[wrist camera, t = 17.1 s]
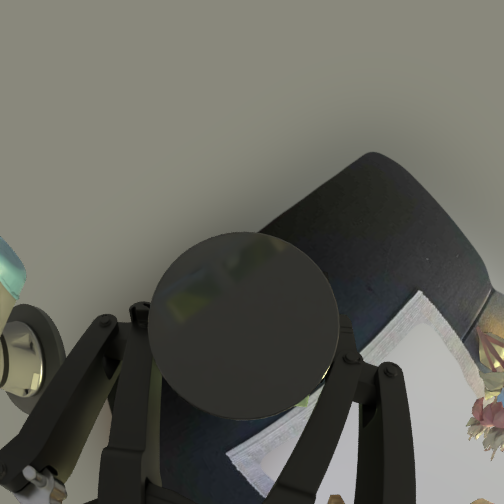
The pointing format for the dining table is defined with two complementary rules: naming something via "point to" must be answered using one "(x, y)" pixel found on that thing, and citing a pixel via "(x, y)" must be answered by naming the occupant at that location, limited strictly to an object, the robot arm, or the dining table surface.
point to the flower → (490, 394)
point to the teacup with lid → (481, 501)
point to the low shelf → (335, 499)
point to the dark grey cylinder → (243, 326)
